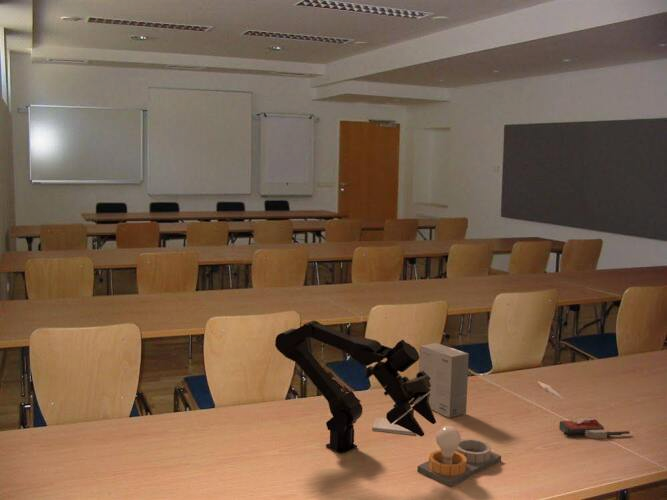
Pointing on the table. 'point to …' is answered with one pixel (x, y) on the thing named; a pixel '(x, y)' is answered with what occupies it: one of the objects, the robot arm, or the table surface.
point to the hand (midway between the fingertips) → (429, 429)
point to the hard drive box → (445, 378)
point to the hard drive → (389, 427)
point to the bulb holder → (460, 462)
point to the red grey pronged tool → (586, 428)
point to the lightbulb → (448, 442)
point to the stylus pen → (549, 389)
